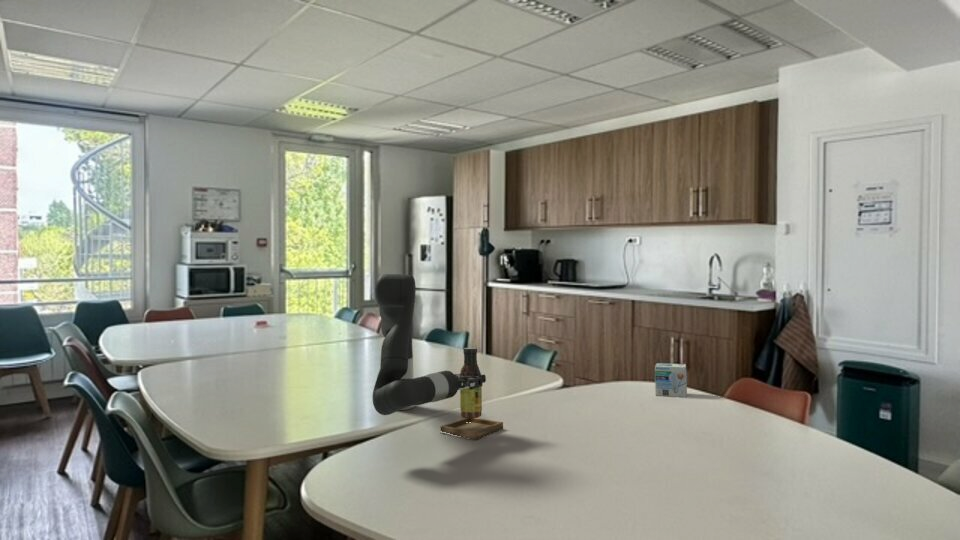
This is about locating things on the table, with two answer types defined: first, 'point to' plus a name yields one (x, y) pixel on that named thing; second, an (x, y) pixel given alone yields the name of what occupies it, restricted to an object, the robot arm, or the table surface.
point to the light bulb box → (670, 380)
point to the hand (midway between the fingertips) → (475, 377)
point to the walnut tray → (472, 427)
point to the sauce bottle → (468, 397)
